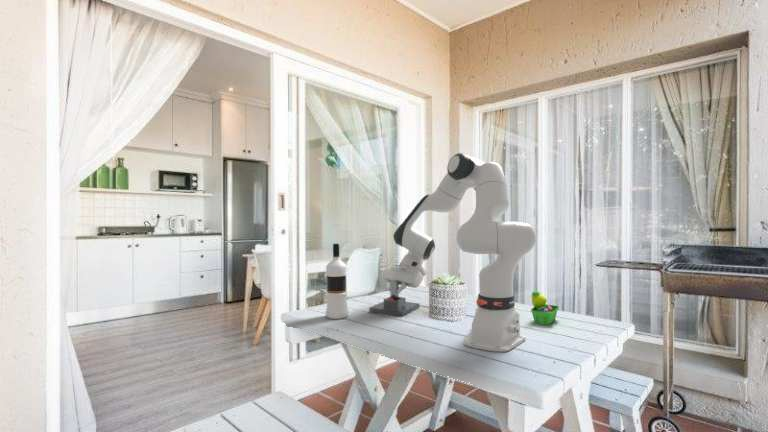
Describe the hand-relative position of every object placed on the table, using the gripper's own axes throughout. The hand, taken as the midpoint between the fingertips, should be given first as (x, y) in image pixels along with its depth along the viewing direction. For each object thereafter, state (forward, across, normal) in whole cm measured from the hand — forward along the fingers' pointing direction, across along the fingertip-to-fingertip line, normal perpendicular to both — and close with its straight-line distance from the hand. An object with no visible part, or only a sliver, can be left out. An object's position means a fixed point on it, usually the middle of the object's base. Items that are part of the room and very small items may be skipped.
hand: (393, 291), depth 175 cm
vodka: (+23, -8, -11) cm, 26 cm away
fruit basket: (-16, +52, +28) cm, 61 cm away
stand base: (+5, 0, +6) cm, 8 cm away
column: (+4, 0, +4) cm, 6 cm away
